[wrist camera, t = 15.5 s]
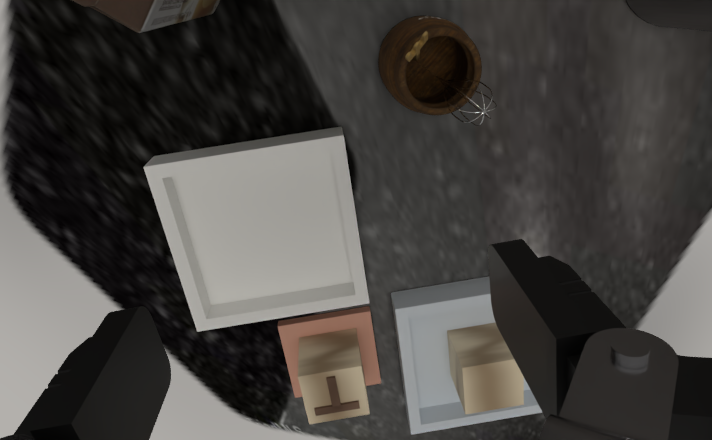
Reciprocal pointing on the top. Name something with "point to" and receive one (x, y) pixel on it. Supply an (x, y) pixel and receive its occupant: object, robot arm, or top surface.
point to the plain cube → (484, 369)
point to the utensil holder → (431, 66)
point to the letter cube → (332, 376)
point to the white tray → (261, 227)
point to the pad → (324, 324)
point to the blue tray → (442, 353)
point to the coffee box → (151, 11)
